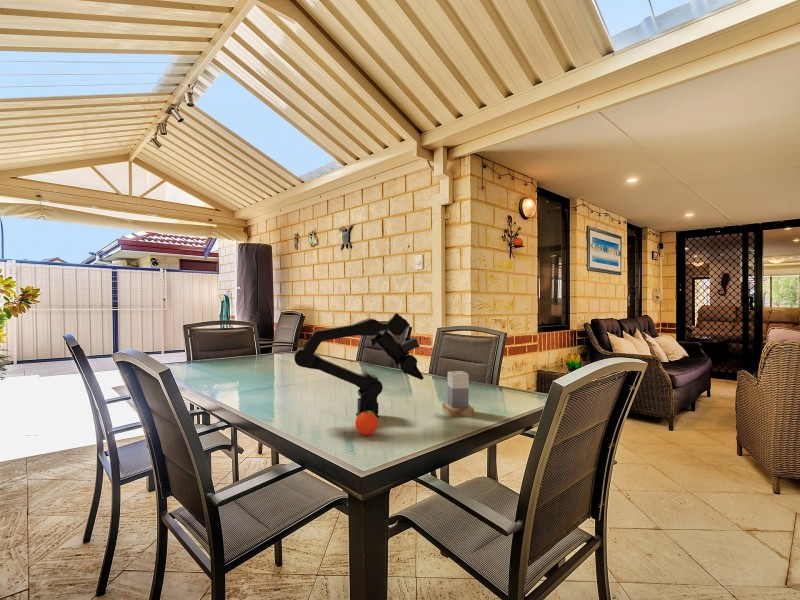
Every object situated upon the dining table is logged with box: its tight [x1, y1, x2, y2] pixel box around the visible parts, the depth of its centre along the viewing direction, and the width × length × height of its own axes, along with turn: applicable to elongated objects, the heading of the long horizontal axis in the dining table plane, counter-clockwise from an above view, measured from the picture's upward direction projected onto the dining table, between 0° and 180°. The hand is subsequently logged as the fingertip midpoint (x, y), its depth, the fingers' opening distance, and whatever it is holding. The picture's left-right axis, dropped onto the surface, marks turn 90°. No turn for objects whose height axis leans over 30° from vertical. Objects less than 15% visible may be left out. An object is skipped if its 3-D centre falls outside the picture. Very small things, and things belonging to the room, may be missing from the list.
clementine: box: [354, 411, 379, 436], centre depth 120 cm, size 8×7×7 cm
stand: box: [442, 402, 475, 418], centre depth 143 cm, size 9×9×2 cm
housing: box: [446, 370, 470, 408], centre depth 143 cm, size 6×6×12 cm
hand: (420, 376), depth 141 cm, fingers open, 9 cm apart
